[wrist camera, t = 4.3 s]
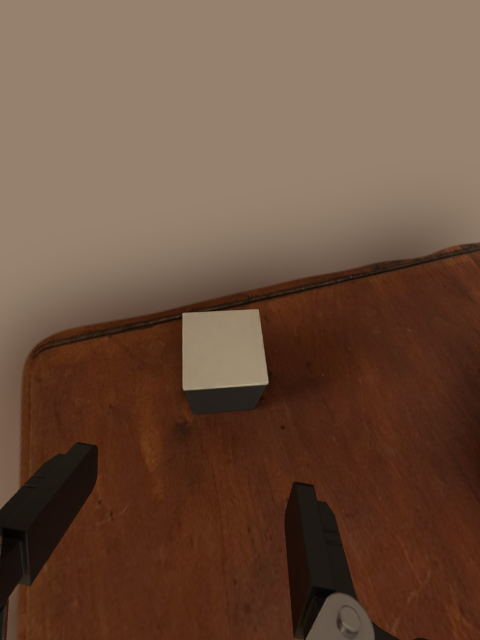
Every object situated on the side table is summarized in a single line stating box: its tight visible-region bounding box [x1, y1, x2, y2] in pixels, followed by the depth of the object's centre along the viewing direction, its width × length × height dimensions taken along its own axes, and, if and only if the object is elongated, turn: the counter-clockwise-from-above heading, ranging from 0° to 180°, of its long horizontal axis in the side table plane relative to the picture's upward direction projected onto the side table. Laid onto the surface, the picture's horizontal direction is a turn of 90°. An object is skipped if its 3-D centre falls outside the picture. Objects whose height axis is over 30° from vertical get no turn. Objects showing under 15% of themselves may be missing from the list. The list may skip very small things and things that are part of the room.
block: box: [183, 309, 269, 414], centre depth 22 cm, size 5×5×8 cm
